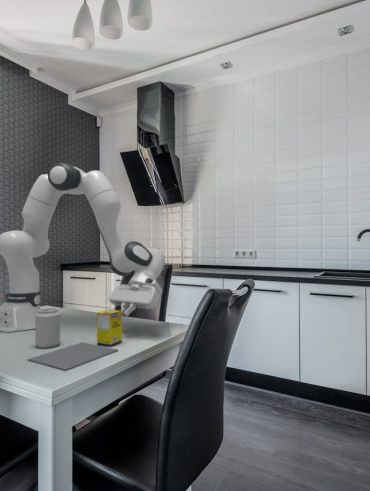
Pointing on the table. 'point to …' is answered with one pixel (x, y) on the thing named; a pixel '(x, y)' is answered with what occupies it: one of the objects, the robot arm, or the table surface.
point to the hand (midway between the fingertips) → (123, 315)
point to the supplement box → (109, 327)
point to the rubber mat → (72, 356)
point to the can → (47, 328)
